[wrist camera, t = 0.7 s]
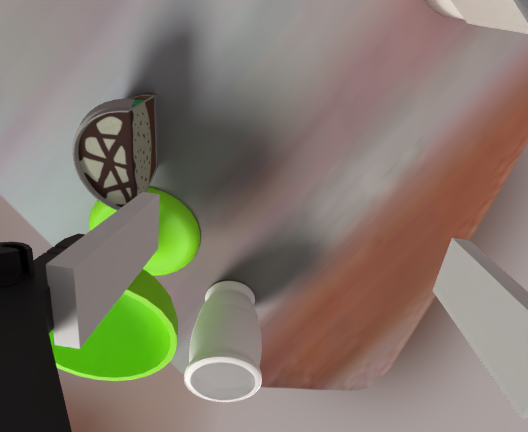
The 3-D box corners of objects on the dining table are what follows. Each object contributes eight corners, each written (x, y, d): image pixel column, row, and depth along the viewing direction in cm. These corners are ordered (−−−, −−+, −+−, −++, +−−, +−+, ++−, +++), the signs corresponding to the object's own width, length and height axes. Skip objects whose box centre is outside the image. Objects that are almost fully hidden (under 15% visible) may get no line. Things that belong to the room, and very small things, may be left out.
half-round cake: (99, 72, 39) (55, 95, 30) (155, 80, 39) (127, 105, 31) (110, 171, 45) (76, 213, 37) (157, 177, 46) (135, 219, 38)
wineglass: (191, 282, 56) (167, 389, 41) (88, 263, 54) (23, 370, 39) (209, 200, 48) (187, 297, 33) (89, 173, 45) (5, 265, 30)
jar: (188, 283, 57) (169, 367, 44) (248, 267, 55) (245, 350, 42) (214, 324, 62) (203, 409, 50) (269, 311, 60) (272, 395, 48)
